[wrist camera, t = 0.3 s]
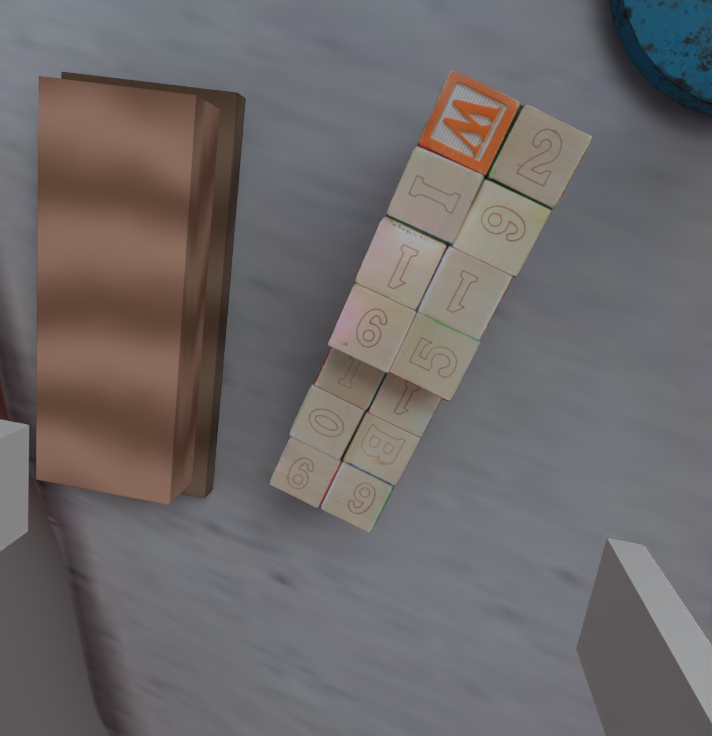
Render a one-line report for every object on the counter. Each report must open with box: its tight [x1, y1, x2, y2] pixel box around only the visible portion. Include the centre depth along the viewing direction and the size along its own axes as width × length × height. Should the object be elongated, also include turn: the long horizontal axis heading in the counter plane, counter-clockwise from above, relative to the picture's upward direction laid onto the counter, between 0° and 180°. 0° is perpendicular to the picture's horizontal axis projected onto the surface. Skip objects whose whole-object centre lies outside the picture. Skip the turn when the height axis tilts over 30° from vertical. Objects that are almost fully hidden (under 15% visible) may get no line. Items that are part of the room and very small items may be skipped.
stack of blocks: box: [269, 70, 592, 533], centre depth 31 cm, size 21×6×12 cm, turn 155°
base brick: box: [36, 72, 245, 505], centre depth 37 cm, size 26×11×5 cm, turn 172°
